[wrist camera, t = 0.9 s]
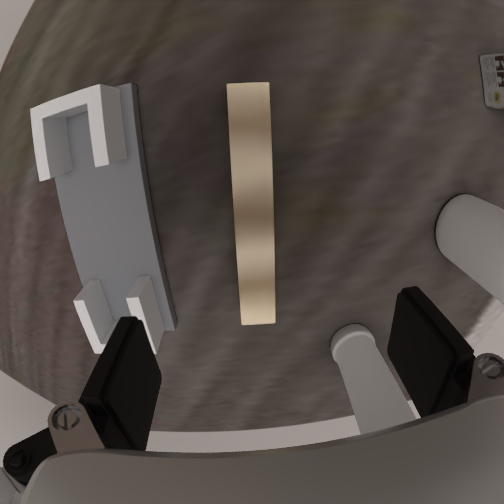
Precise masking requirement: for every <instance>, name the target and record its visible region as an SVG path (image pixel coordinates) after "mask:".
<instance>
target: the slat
mask: <svg viewBox="0 0 504 504" xmlns="http://www.w3.org/2000/svg"><path fill="white" fill-rule="evenodd" d="M227 100H228V120H229V139H230V157H231V174H232V190H233V207H234V222H235V238H236V252H237V267H238V281H239V295H240V308H241V321H242V325H253V324H269V323H275V252H274V205H273V170H272V140H271V115H270V92H269V82H254V83H232V84H227Z"/></svg>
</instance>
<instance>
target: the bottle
mask: <svg viewBox="0 0 504 504" xmlns="http://www.w3.org/2000/svg"><path fill="white" fill-rule="evenodd" d="M331 351H332V355H333V358H334V360H335V361H336V362H337V363H338V365H339V368H340V371H341V374H342V377H343V380H344V383H345V386H346V389H347V392H348V395H349V398H350V401H351V404H352V408H353V411H354V414H355V417H356V420H357V423H358V426H359V430H360V433H361V434H365V433H370V432H374V431H378V430H382V429H385V428H389V427H393V426H396V425H400V424H403V423H407V422H410V421H413V420H416V418H415V416H414V414H413V412H412V410H411V408H410V406H409V404H408V402H407V401H406V399H405V397H404V395H403V393H402V391H401V390H400V388H399V386H398V384H397V382H396V381H395V379H394V377H393V375H392V373H391V372H390V370H389V368H388V366H387V365H386V363H385V361H384V359H383V358H382V356H381V354H380V352H379V351H378V349H377V347H376V345H375V339H374V337H373V335H372V334H371V333H370V332H369V330H368V329H367V328H366V327H364V326H362V325H359V324H350V325H347V326H345V327H343V328H341V329H340V330H338V331H337V332H336V333H335V335H334V336H333V338H332V341H331Z"/></svg>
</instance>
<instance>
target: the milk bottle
mask: <svg viewBox="0 0 504 504" xmlns="http://www.w3.org/2000/svg"><path fill="white" fill-rule="evenodd" d="M436 241H437V244H438V247H439V249H440V251H441V253H442V254H443V255H444V256H445V257H446V258H448V259H449V260H450V261H451V262H453V263H454V264H455V265H456V266H458V267H459V268H460V269H461V270H463V271H464V272H465V273H466V274H467V275H469V276H470V277H471V278H472V279H474V280H475V281H476V282H477V283H478V284H480V285H481V286H482V287H483V288H484V289H486V290H487V291H488V292H489V293H490V294H492V295H493V296H494V297H495V298H497V299H498V300H499V301H500V302H502V303H503V304H504V209H502V208H500V207H497V206H495V205H493V204H491V203H489V202H486V201H484V200H482V199H479V198H477V197H474V196H472V195H468V194H463V195H459V196H457V197H454V198H453V199H451V200H450V201H449V202H448V203H447V204H446V205H445V206H444V208H443V209H442V211H441V213H440V215H439V218H438V221H437V225H436Z"/></svg>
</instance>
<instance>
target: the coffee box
mask: <svg viewBox="0 0 504 504" xmlns="http://www.w3.org/2000/svg"><path fill="white" fill-rule="evenodd" d="M480 64H481V71H482V78H483V87H484V97H485V104H486V106H487V107H491V108H496V109H500V110H504V53H497V54H490V55H481V56H480Z"/></svg>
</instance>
